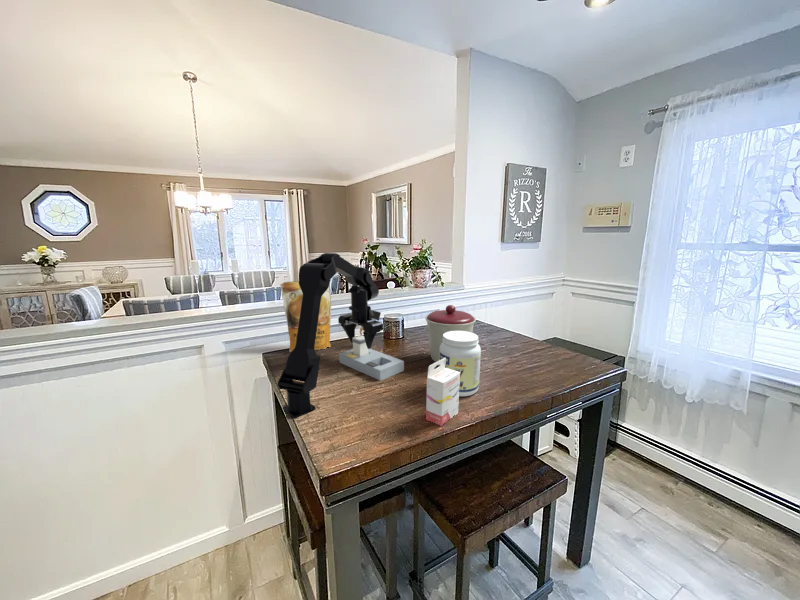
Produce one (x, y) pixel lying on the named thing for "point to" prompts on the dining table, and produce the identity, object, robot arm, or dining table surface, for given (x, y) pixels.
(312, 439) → the dining table surface
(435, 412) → the ink cartridge box
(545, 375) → the dining table surface
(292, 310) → the pancake mix bag
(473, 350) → the supplement tub
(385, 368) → the socket block
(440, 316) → the canister
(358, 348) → the plug
